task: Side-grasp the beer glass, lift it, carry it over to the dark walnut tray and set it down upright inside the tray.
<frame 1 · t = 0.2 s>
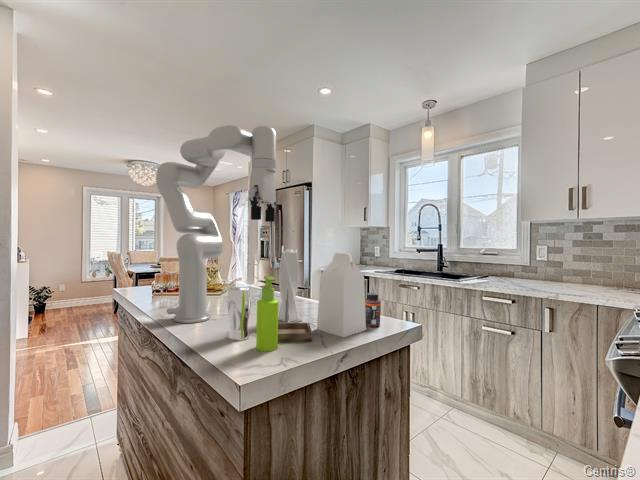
hand: (263, 220, 102), 36 cm above the countertop, tool pointing down, fingers open, 9 cm apart
soap dispenser: (267, 349, 88), on the countertop
walnut tray: (291, 335, 100), on the countertop
beer glass: (238, 338, 97), on the countertop
skyscraper: (287, 321, 118), on the countertop
milk: (341, 330, 108), on the countertop
supplement bottle: (371, 325, 114), on the countertop
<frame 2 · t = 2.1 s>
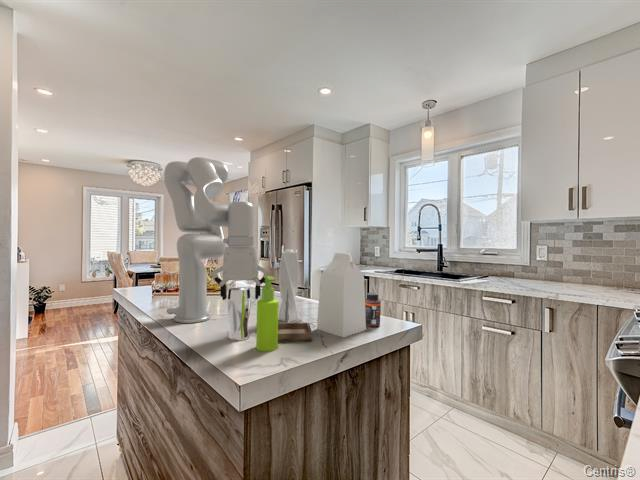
hand: (240, 298, 97), 12 cm above the countertop, tool pointing down, fingers open, 9 cm apart
nothing on the countertop moved.
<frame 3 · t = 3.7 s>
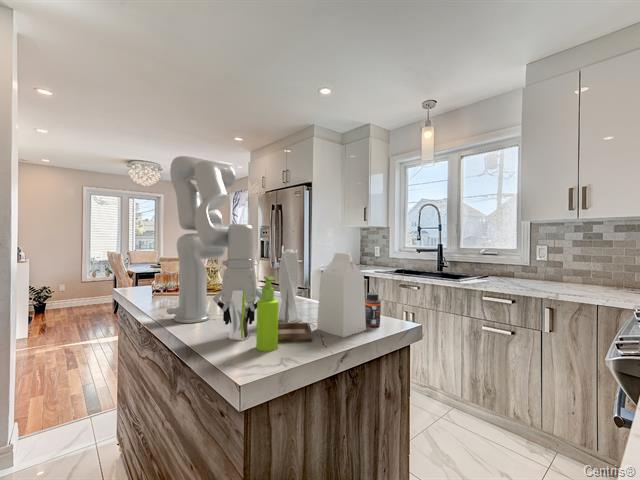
hand: (239, 322, 97), 4 cm above the countertop, tool pointing down, fingers closed on beer glass, 6 cm apart
beer glass: (238, 338, 97), on the countertop, touching gripper
everything else where it was.
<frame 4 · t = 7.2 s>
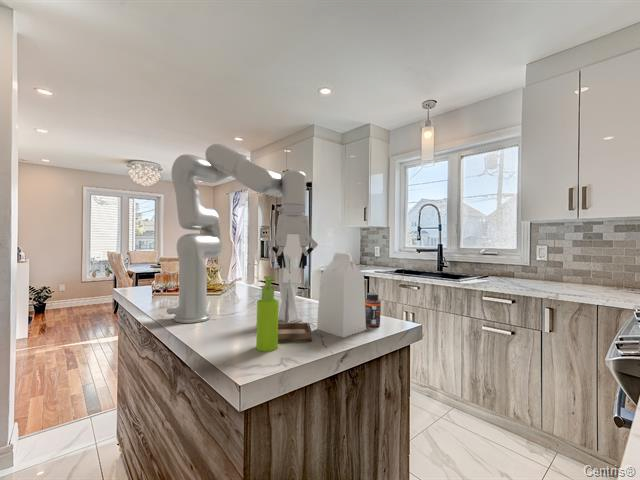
hand: (292, 267, 100), 21 cm above the countertop, tool pointing down, fingers closed on beer glass, 6 cm apart
beer glass: (291, 282, 100), point 17 cm above the countertop, touching gripper
everything else where it was.
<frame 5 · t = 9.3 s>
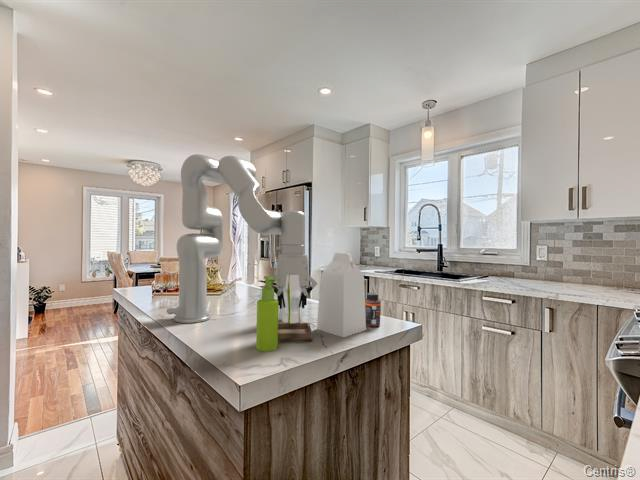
hand: (291, 307, 100), 9 cm above the countertop, tool pointing down, fingers closed on beer glass, 6 cm apart
beer glass: (291, 322, 100), point 4 cm above the countertop, touching gripper
everything else where it was.
when the fingers open (7 cm above the countertop, at t = 10.8 s): beer glass drops 1 cm, resting on walnut tray.
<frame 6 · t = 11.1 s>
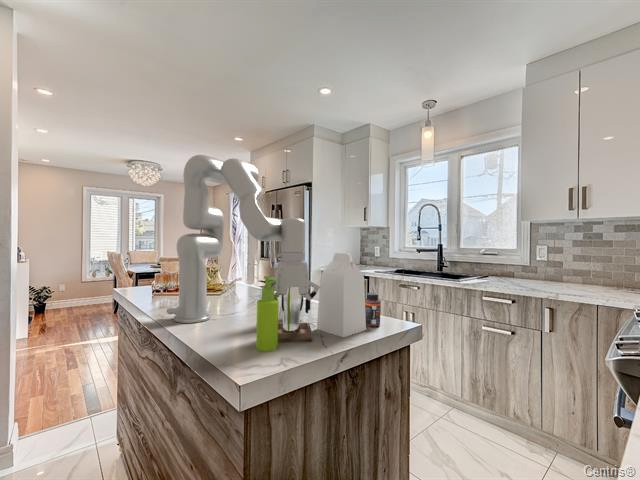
hand: (291, 312, 100), 7 cm above the countertop, tool pointing down, fingers open, 9 cm apart
beer glass: (290, 333, 100), point 1 cm above the countertop, touching walnut tray
everything else where it was.
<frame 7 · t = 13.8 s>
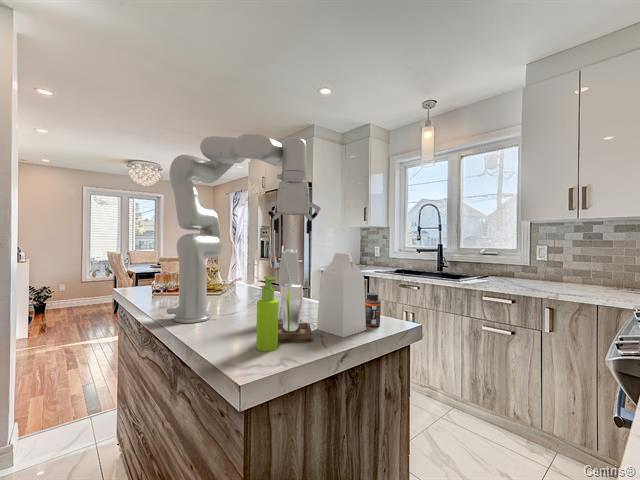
hand: (292, 233, 100), 32 cm above the countertop, tool pointing down, fingers open, 9 cm apart
nothing on the countertop moved.
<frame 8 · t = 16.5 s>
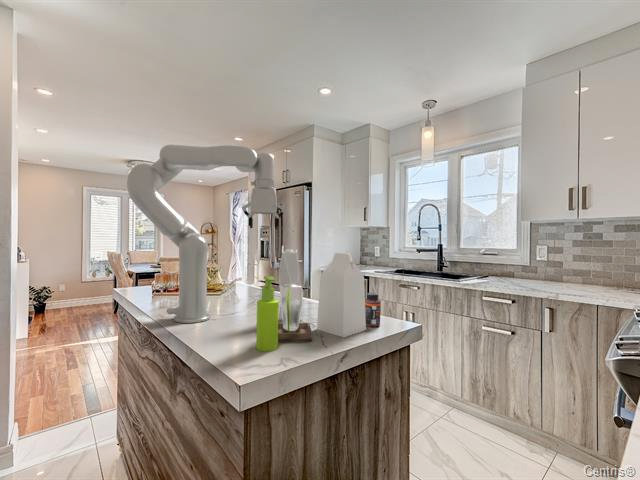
hand: (263, 228, 126), 34 cm above the countertop, tool pointing down, fingers open, 9 cm apart
nothing on the countertop moved.
at the end: beer glass 0.2 cm off-centre on the walnut tray, point 0.6 cm above the walnut tray's base; beer glass tilted 0°; the gripper is holding nothing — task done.
